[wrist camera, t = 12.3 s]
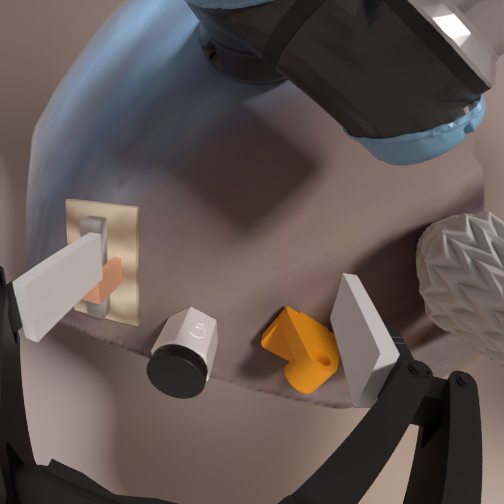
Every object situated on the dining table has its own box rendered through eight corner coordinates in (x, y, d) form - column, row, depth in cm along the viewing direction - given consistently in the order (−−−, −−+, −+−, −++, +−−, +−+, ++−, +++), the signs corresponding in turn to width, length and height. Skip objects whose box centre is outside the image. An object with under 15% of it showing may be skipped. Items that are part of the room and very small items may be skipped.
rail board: (69, 198, 42) (54, 203, 39) (139, 206, 42) (127, 213, 38) (77, 307, 49) (66, 318, 46) (139, 323, 49) (131, 336, 45)
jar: (229, 324, 48) (218, 375, 37) (207, 357, 51) (193, 408, 39) (179, 297, 47) (154, 343, 36) (161, 333, 50) (136, 379, 38)
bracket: (259, 335, 48) (255, 387, 37) (286, 302, 46) (290, 352, 35) (311, 363, 50) (318, 415, 39) (339, 334, 48) (354, 385, 36)
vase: (391, 304, 45) (485, 479, 14) (391, 201, 40) (571, 328, 9) (473, 287, 43) (587, 411, 13) (480, 192, 38) (645, 274, 7)
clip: (79, 250, 44) (53, 267, 37) (121, 258, 44) (97, 278, 37) (81, 272, 46) (56, 292, 39) (122, 281, 46) (100, 304, 38)
